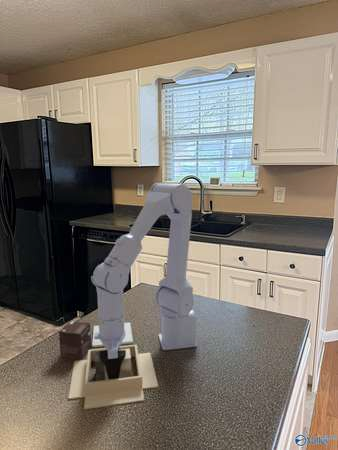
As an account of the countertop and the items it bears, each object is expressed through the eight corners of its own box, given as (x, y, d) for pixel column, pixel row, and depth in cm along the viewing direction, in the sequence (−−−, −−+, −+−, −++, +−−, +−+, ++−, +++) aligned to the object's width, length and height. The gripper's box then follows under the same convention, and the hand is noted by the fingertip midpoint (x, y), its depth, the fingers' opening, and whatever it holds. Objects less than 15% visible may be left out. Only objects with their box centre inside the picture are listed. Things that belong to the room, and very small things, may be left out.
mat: (130, 324, 99) (130, 322, 99) (132, 343, 88) (132, 341, 88) (94, 327, 97) (93, 325, 96) (92, 347, 86) (92, 345, 86)
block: (130, 367, 78) (129, 348, 77) (131, 377, 74) (130, 357, 73) (96, 371, 76) (95, 352, 75) (96, 381, 72) (95, 362, 71)
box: (81, 360, 80) (79, 334, 79) (60, 358, 81) (58, 331, 80) (92, 347, 86) (90, 322, 85) (71, 345, 87) (70, 320, 86)
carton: (148, 346, 86) (148, 336, 86) (160, 398, 67) (160, 385, 66) (75, 354, 83) (75, 343, 82) (66, 411, 63) (65, 398, 63)
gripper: (94, 303, 78) (97, 353, 81) (91, 332, 64) (95, 392, 67) (123, 300, 80) (124, 350, 82) (126, 329, 66) (128, 387, 68)
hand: (113, 368), depth 75 cm, fingers open, 7 cm apart
